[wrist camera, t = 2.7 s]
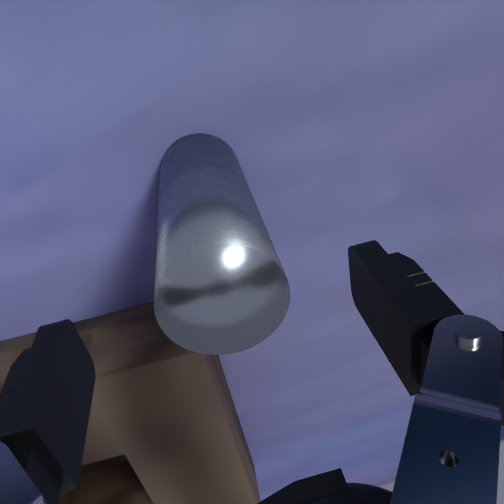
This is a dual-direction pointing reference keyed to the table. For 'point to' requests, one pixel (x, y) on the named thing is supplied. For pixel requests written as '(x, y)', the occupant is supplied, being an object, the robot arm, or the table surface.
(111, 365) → the socket block
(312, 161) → the table surface
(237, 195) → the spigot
